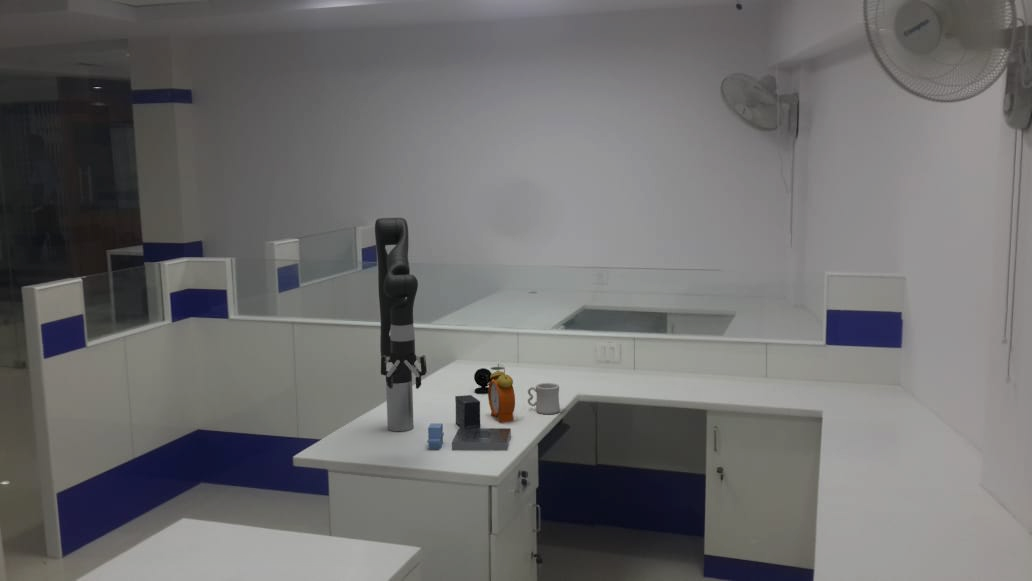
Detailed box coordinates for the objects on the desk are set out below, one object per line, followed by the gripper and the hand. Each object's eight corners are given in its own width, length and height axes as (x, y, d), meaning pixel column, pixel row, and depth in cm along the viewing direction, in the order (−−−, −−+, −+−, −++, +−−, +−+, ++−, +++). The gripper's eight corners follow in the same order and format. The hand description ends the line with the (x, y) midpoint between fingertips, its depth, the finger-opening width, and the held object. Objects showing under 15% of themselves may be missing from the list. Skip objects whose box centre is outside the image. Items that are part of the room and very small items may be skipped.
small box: (481, 429, 304) (481, 400, 302) (464, 432, 301) (463, 402, 300) (472, 422, 313) (471, 394, 312) (455, 424, 311) (454, 395, 310)
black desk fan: (472, 393, 354) (471, 370, 353) (477, 389, 361) (476, 366, 360) (490, 394, 352) (489, 370, 351) (495, 390, 360) (494, 366, 358)
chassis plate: (458, 435, 298) (458, 428, 297) (510, 435, 296) (510, 428, 296) (452, 449, 282) (451, 442, 282) (506, 450, 281) (506, 442, 280)
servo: (432, 441, 291) (431, 421, 290) (444, 441, 291) (443, 421, 290) (427, 450, 282) (426, 429, 281) (439, 450, 282) (439, 429, 281)
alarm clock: (487, 414, 323) (486, 362, 320) (503, 413, 325) (502, 360, 322) (500, 424, 310) (499, 369, 308) (516, 422, 312) (515, 368, 310)
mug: (562, 409, 329) (561, 383, 328) (556, 415, 320) (556, 389, 319) (530, 407, 332) (530, 381, 331) (524, 413, 324) (524, 387, 322)
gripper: (427, 335, 274) (428, 385, 276) (383, 335, 275) (385, 384, 277) (422, 340, 266) (424, 391, 269) (377, 340, 267) (379, 390, 270)
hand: (404, 388), depth 273 cm, fingers open, 8 cm apart
